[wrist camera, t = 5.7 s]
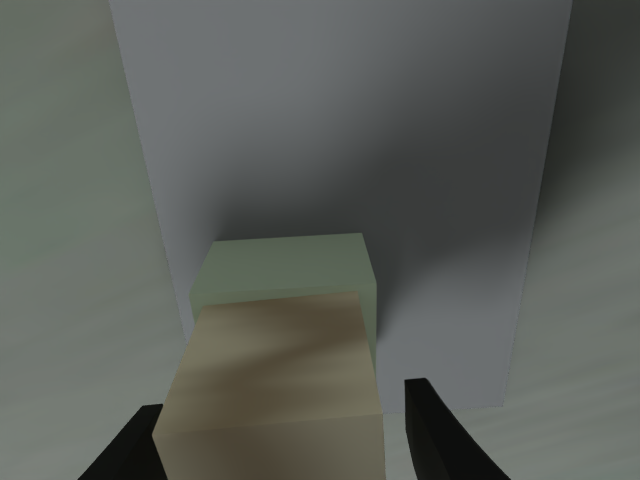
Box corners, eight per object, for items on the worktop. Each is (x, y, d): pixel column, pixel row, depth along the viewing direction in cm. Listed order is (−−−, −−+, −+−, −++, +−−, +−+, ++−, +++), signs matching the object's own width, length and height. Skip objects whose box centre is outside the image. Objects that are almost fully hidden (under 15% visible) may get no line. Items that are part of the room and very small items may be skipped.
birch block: (357, 290, 14) (382, 413, 9) (365, 406, 16) (389, 552, 11) (203, 305, 14) (151, 435, 9) (231, 418, 16) (201, 569, 11)
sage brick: (361, 232, 17) (376, 283, 14) (363, 351, 20) (375, 420, 16) (213, 241, 17) (188, 294, 14) (233, 358, 20) (217, 430, 16)
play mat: (603, -248, 12) (618, -262, 11) (497, 397, 22) (502, 406, 21) (67, -219, 12) (56, -232, 11) (207, 415, 22) (204, 424, 21)
